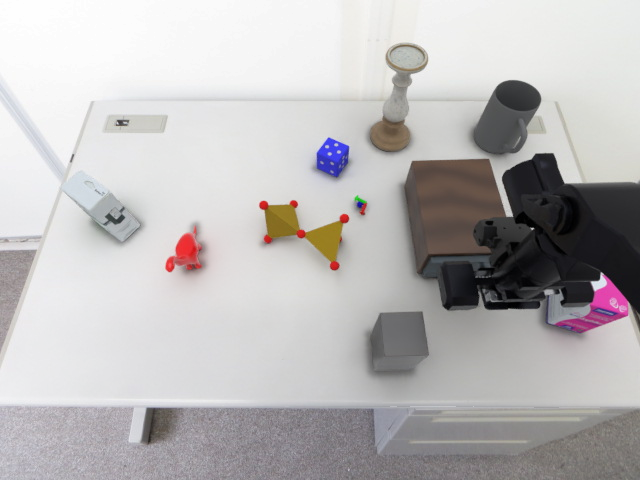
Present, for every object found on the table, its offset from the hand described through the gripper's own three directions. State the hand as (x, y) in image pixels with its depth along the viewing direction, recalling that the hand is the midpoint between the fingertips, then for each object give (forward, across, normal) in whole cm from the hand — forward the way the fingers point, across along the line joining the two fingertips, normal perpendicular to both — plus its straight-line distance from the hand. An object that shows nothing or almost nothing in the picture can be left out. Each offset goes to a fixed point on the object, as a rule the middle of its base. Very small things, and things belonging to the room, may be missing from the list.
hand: (488, 304), depth 56 cm
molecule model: (+9, +26, -19) cm, 34 cm away
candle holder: (+9, +9, -42) cm, 44 cm away
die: (+9, +22, -35) cm, 42 cm away
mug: (+9, -14, -39) cm, 42 cm away
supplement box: (+9, -17, -1) cm, 19 cm away
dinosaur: (+9, +49, -13) cm, 51 cm away
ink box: (+9, +65, -22) cm, 69 cm away
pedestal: (+9, +14, +5) cm, 17 cm away
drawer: (+8, 0, -15) cm, 17 cm away
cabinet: (+9, 0, -19) cm, 21 cm away
